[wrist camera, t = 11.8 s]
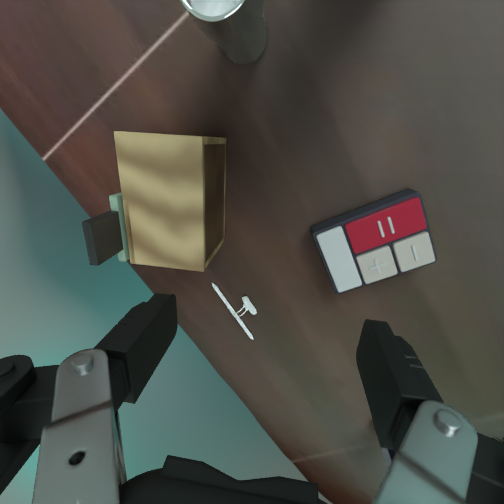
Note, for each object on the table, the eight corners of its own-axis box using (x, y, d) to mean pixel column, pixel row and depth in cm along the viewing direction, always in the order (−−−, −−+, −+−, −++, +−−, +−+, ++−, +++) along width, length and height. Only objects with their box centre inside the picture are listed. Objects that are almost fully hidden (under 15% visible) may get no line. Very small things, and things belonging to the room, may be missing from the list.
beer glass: (207, 22, 34) (151, -58, 20) (257, -12, 32) (231, -125, 19) (232, 79, 36) (195, 42, 22) (280, 51, 34) (271, -9, 21)
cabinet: (147, 132, 40) (96, 129, 30) (226, 137, 39) (202, 136, 28) (156, 234, 47) (116, 261, 36) (224, 241, 45) (203, 271, 35)
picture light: (211, 282, 49) (207, 288, 47) (230, 272, 47) (227, 277, 45) (251, 339, 52) (250, 346, 50) (271, 330, 51) (270, 338, 49)
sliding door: (152, 182, 42) (78, 205, 27) (158, 183, 42) (87, 206, 27) (156, 234, 45) (92, 278, 31) (162, 234, 45) (100, 279, 31)
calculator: (441, 263, 38) (337, 298, 41) (425, 252, 42) (332, 284, 45) (423, 191, 35) (312, 235, 38) (408, 186, 39) (308, 226, 42)
